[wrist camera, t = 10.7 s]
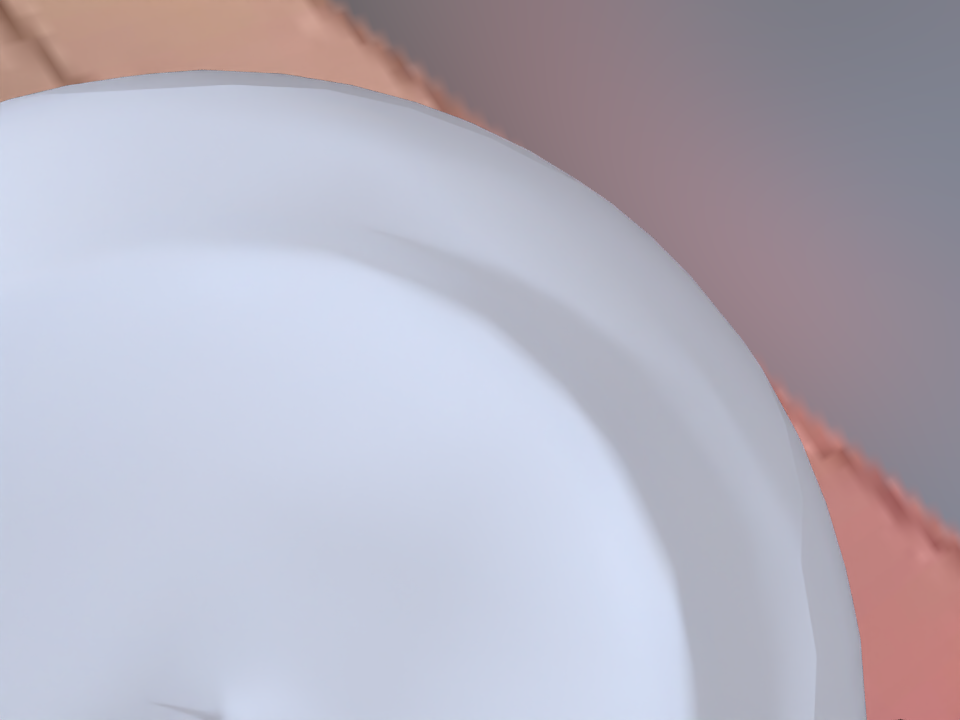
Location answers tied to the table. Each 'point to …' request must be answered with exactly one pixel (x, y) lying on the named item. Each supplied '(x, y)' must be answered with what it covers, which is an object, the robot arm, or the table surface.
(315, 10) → the table surface
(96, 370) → the sprinkles bottle
